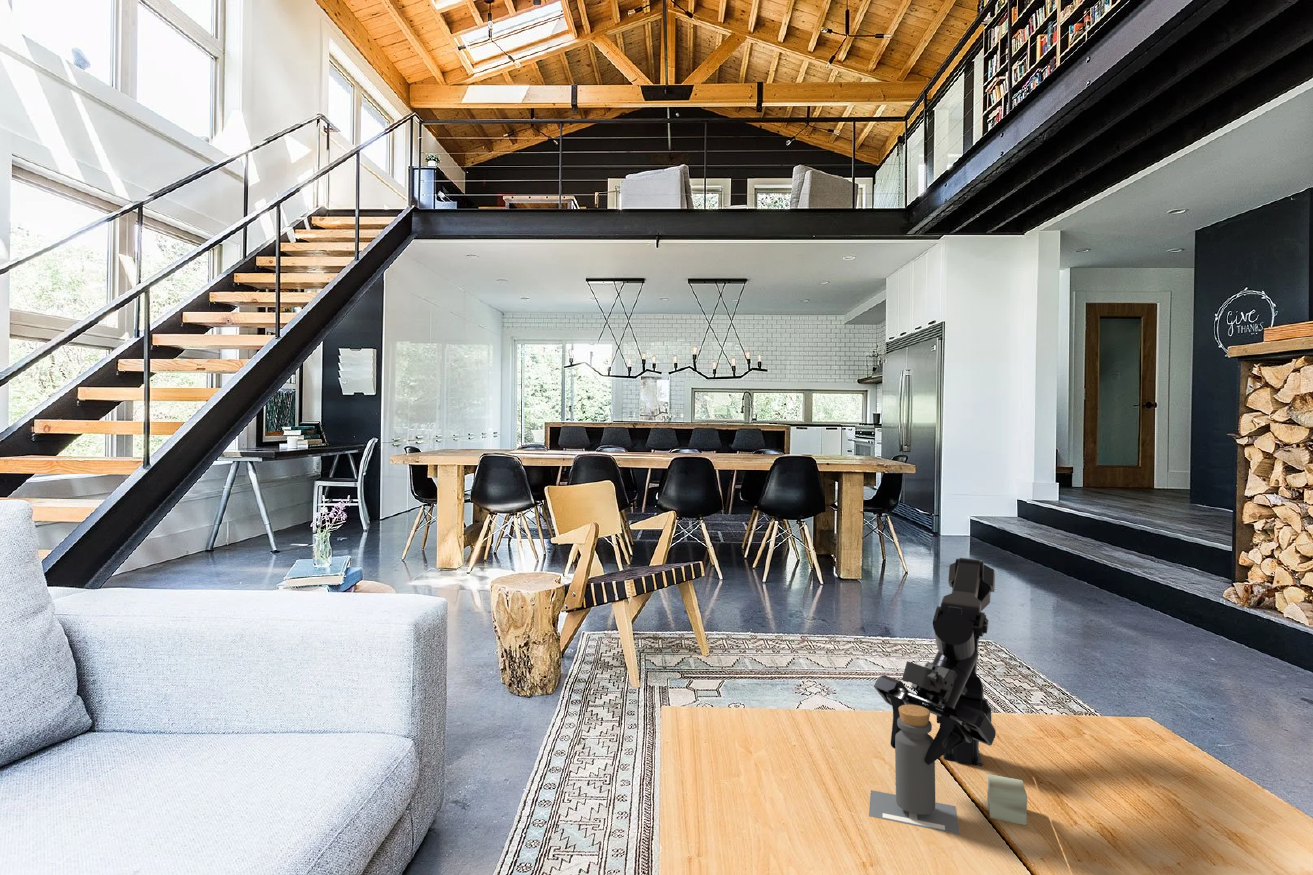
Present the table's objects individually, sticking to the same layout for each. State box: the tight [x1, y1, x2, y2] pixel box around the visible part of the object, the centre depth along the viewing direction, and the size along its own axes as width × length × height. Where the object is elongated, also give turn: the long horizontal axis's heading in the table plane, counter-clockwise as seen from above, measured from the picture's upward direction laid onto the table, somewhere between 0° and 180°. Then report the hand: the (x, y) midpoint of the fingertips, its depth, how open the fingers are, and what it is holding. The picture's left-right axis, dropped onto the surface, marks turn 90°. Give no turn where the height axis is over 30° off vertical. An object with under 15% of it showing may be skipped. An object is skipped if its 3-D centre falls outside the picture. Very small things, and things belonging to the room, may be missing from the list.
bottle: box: [894, 705, 936, 814], centre depth 106 cm, size 6×6×15 cm
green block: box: [986, 773, 1028, 826], centre depth 106 cm, size 5×5×5 cm
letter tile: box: [868, 789, 961, 836], centre depth 106 cm, size 8×13×1 cm, turn 70°
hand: (909, 754), depth 105 cm, fingers closed on bottle, 6 cm apart
